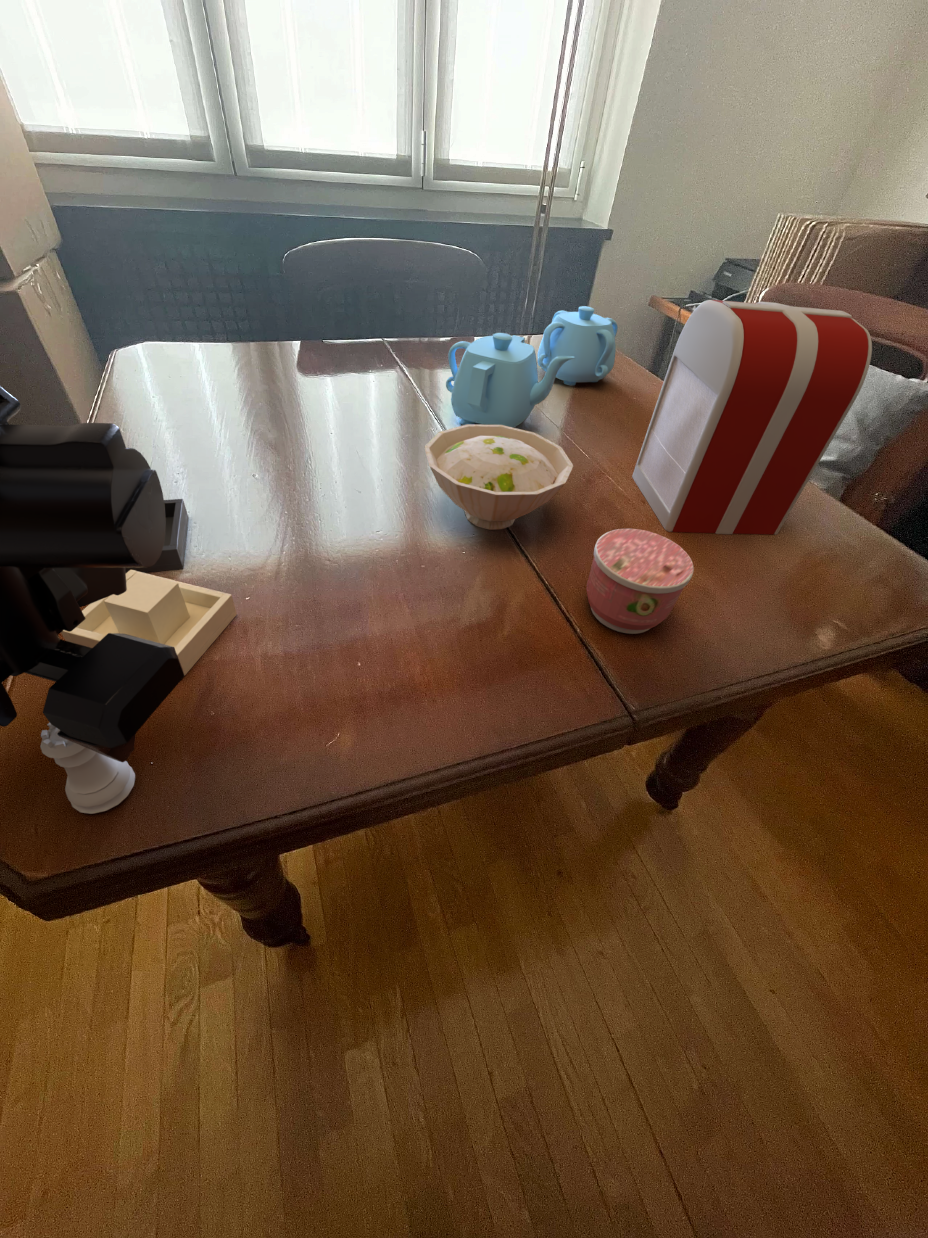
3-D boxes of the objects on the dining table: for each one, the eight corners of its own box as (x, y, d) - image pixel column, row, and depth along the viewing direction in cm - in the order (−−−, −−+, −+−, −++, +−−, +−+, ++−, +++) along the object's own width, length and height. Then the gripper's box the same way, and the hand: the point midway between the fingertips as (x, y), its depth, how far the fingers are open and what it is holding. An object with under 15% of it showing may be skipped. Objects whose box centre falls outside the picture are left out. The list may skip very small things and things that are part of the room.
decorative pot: (546, 358, 127) (558, 292, 118) (614, 372, 124) (631, 306, 115) (526, 379, 116) (537, 308, 107) (600, 396, 113) (618, 324, 103)
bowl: (456, 570, 66) (464, 498, 59) (400, 490, 78) (401, 423, 72) (586, 541, 73) (606, 474, 67) (516, 472, 86) (527, 409, 79)
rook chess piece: (85, 765, 44) (41, 704, 38) (144, 763, 44) (110, 702, 39) (61, 818, 40) (10, 760, 35) (126, 815, 41) (85, 756, 36)
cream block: (120, 635, 53) (103, 601, 50) (150, 606, 56) (136, 572, 53) (161, 646, 52) (147, 612, 49) (190, 616, 56) (178, 582, 52)
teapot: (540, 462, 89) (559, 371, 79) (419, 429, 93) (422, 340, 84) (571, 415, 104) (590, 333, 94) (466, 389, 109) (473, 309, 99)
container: (560, 608, 63) (576, 552, 57) (607, 571, 69) (625, 517, 64) (641, 657, 58) (667, 601, 53) (683, 612, 64) (710, 558, 59)
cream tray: (71, 650, 52) (58, 629, 50) (139, 589, 59) (130, 569, 57) (180, 680, 51) (172, 660, 49) (237, 614, 57) (231, 594, 56)
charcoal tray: (183, 569, 62) (176, 549, 60) (87, 578, 59) (77, 558, 57) (188, 517, 69) (183, 498, 67) (103, 524, 67) (94, 504, 65)
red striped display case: (630, 474, 89) (692, 284, 70) (730, 478, 91) (816, 295, 72) (666, 532, 77) (752, 322, 58) (781, 535, 79) (899, 334, 61)
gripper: (206, 514, 32) (252, 686, 42) (-66, 450, 34) (43, 629, 45) (55, 645, 24) (159, 816, 34) (-289, 550, 26) (-91, 738, 36)
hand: (67, 738), depth 38 cm, fingers open, 9 cm apart
